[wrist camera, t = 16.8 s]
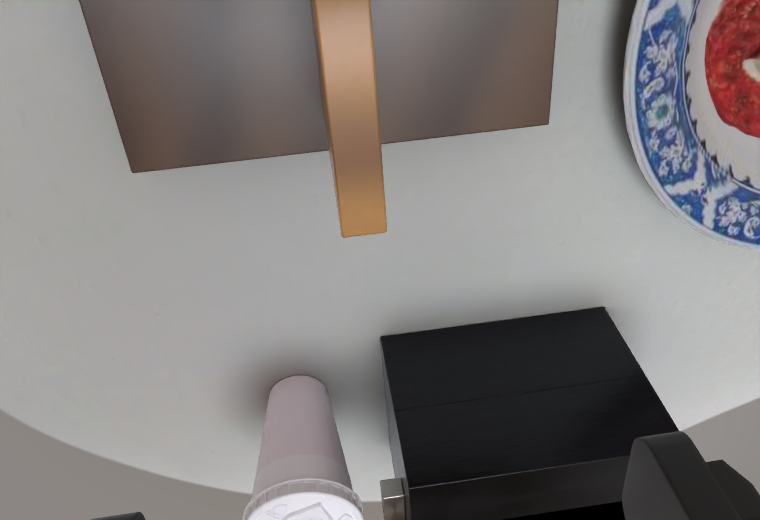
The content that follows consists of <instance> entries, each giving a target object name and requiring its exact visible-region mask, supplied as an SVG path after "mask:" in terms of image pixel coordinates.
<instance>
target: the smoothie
mask: <svg viewBox="0 0 760 520" xmlns="http://www.w3.org/2000/svg"><path fill="white" fill-rule="evenodd" d="M243 520H363V505H362V503H361V501H360V498H359V496H358V495H357V494H356V493H354V492H353V489H352V485H351V480H350V476H349V473H348V470H347V466H346V462H345V458H344V454H343V450H342V446H341V442H340V439H339V435H338V431H337V427H336V423H335V419H334V415H333V412H332V408H331V404H330V400H329V396H328V392H327V389H326V387H325V386H324V384H323V383H322V382H320V381H319V380H317V379H315V378H313V377H309V376H301V375H299V376H291V377H288V378H285V379H283V380H281V381H279V382H278V383H277V384H275V385H274V387H273V388H272V389H271V391H270V395H269V401H268V407H267V412H266V418H265V424H264V430H263V436H262V442H261V448H260V454H259V459H258V465H257V471H256V477H255V482H254V488H253V494H252V499H251V501H250V502H249V504H248V505H247V506H246V508H245V511H244V515H243Z"/></svg>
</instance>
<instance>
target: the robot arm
mask: <svg viewBox="0 0 760 520" xmlns="http://www.w3.org/2000/svg"><path fill="white" fill-rule="evenodd" d="M622 505H623V511H624V516H625V520H760V495H759V494H758V492H757V491H756V489H755V488H754V486H753V485H752V484H751V483H750V482H749V481H748V480H747V479H745V478H744V477H743V476H741V475H740V474H739V473H738V472H737V471H735V470H734V469H733V468H732V467H730V466H729V465H728V464H727V463H726V462H724V461H723V460H717V461H711V462H705V461H704V459H703V457H702V456H701V454H700V453H699V451H698V450H697V448H696V446H695V445H694V443H693V442H692V440H691V439H690V438H689V437H688V435H686V434H685V433H683V432H681V431H677V432H671V433H664V434H658V435H651V436H645V437H638V438H636V439H635V440H634V441H633V444H632V448H631V453H630V458H629V463H628V468H627V473H626V477H625V482H624V487H623V492H622ZM92 520H145V518H144V516H143V514H142V513H141V512H135V513H129V514H123V515H116V516H109V517H102V518H96V519H92Z"/></svg>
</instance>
